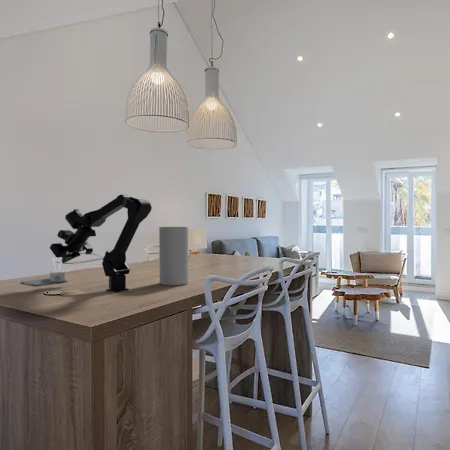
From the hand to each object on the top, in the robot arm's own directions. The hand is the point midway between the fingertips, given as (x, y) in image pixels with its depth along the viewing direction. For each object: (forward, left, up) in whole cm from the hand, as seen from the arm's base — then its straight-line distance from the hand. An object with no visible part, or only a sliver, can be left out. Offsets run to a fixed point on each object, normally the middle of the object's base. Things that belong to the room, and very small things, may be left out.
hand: (62, 262), depth 161 cm
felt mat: (+13, +1, -10) cm, 17 cm away
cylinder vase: (-37, -30, -10) cm, 49 cm away
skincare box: (+6, -1, -7) cm, 10 cm away
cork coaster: (-21, +9, -10) cm, 25 cm away
